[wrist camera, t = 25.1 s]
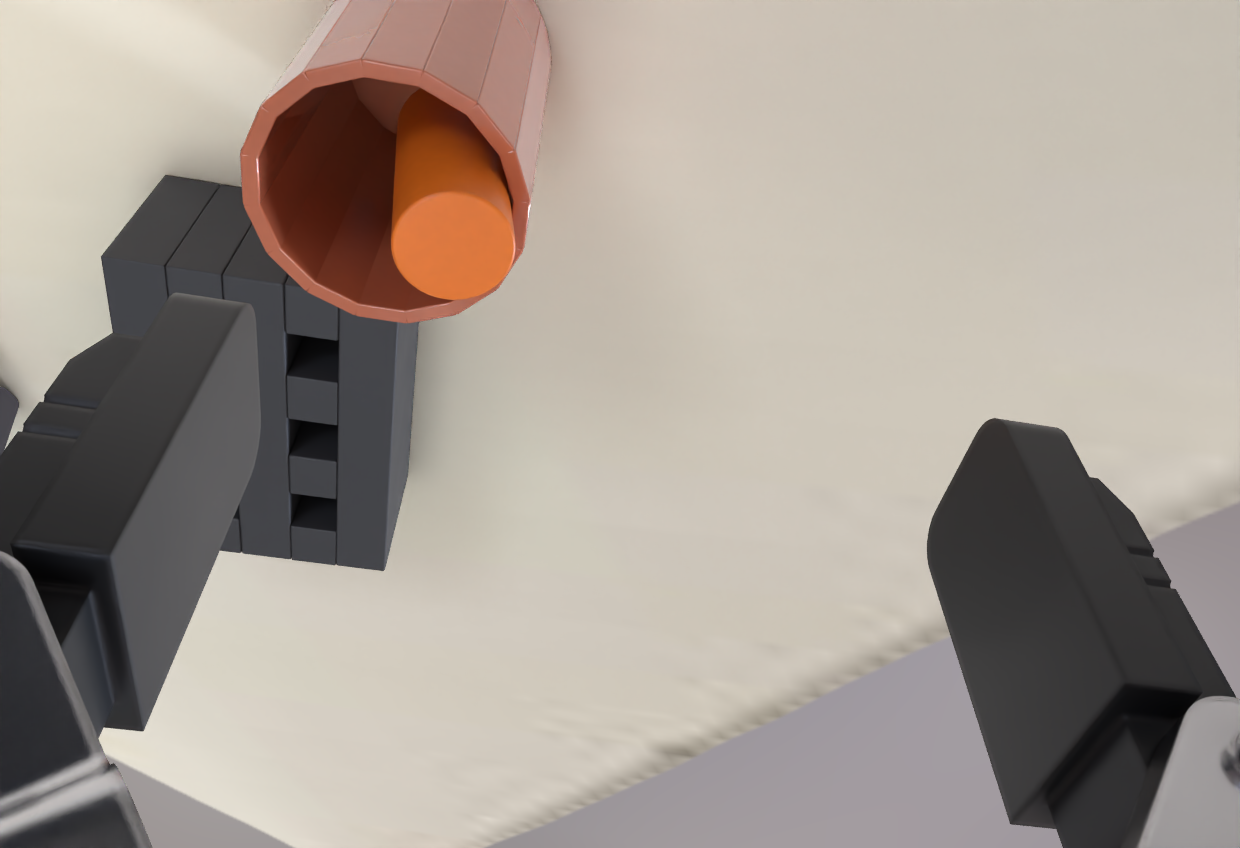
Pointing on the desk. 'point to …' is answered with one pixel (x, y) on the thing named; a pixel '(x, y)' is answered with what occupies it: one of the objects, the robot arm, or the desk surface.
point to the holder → (283, 378)
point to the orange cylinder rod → (448, 203)
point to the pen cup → (386, 137)
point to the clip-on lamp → (6, 415)
